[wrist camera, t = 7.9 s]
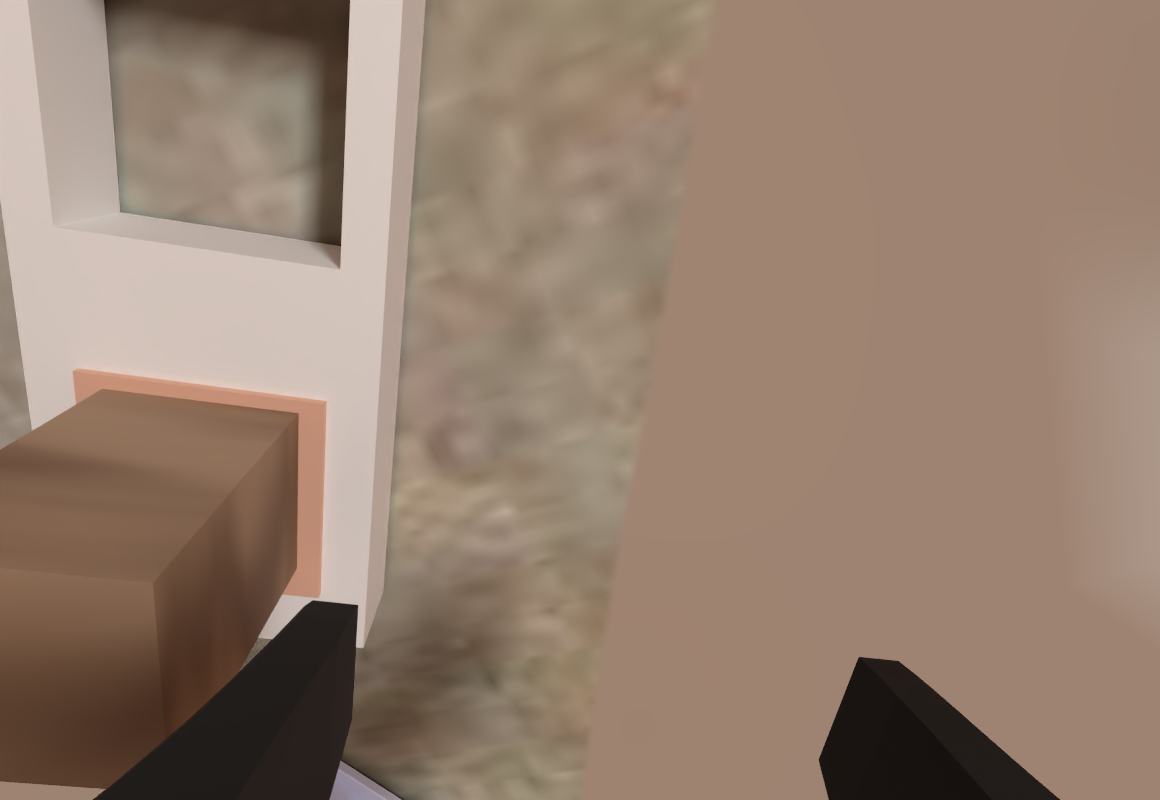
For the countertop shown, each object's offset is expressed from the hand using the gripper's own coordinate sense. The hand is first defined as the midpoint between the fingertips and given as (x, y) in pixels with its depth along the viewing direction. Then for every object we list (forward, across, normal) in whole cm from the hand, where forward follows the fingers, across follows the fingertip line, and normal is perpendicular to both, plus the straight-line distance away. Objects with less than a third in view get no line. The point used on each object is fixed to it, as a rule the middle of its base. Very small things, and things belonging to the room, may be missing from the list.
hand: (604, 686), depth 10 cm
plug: (+8, +9, +2) cm, 12 cm away
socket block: (+10, +9, -2) cm, 14 cm away
